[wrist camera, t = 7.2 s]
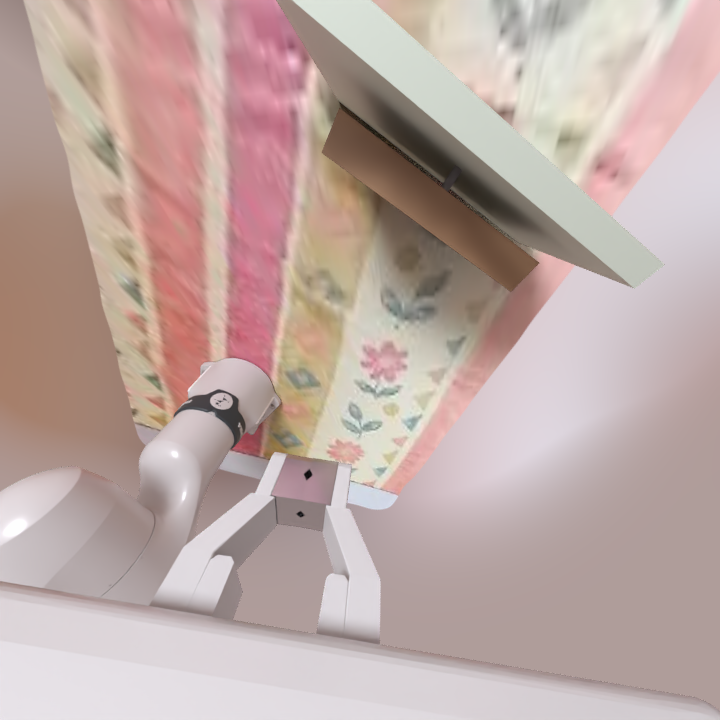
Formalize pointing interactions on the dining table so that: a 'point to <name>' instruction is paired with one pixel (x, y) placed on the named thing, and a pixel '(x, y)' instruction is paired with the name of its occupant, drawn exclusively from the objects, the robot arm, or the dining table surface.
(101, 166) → the dining table surface
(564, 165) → the dining table surface
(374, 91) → the wall panel
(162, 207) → the dining table surface
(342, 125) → the wooden picture frame
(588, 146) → the dining table surface
